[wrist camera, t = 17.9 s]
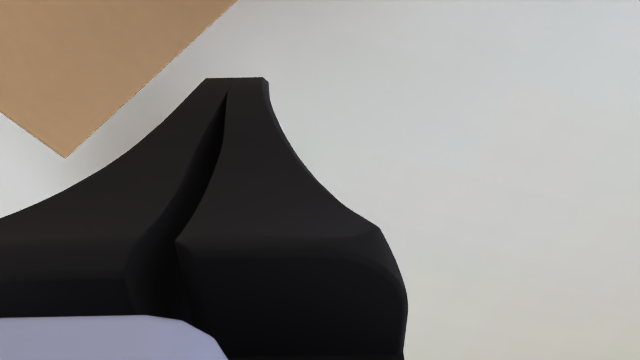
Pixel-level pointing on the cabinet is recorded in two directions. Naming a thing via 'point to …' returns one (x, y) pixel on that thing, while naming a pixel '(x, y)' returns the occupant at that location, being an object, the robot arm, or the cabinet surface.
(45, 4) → the flap
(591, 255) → the cabinet surface
